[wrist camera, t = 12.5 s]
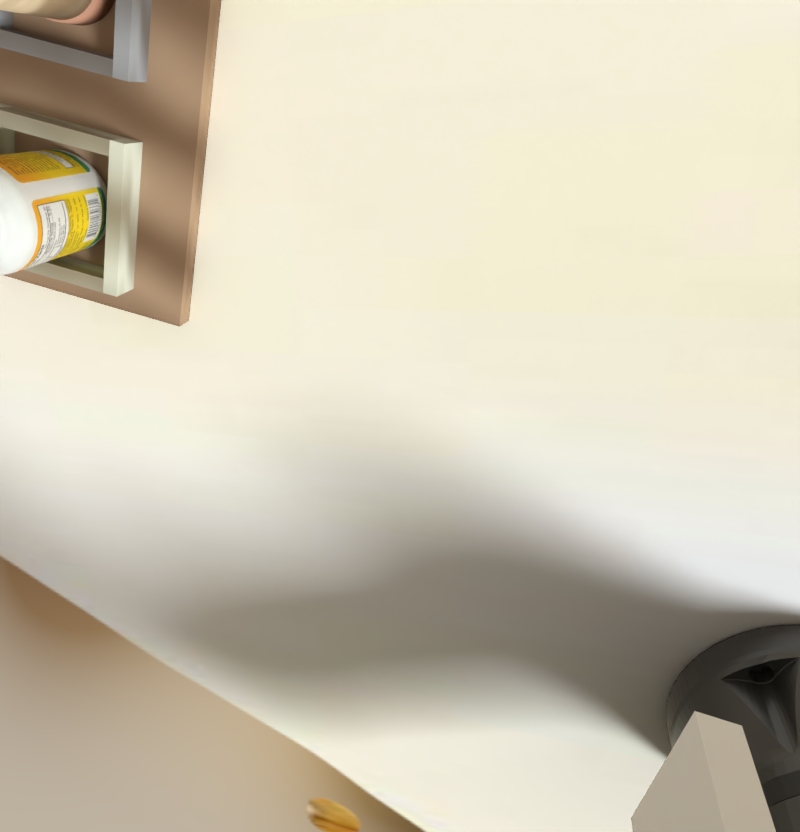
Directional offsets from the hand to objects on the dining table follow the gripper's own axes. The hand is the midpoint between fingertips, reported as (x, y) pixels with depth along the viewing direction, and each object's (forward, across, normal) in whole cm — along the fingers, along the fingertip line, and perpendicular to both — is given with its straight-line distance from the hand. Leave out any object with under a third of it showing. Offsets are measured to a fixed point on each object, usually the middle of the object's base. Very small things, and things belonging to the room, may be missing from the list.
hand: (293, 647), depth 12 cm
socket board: (+29, +22, -4) cm, 36 cm away
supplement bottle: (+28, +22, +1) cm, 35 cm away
